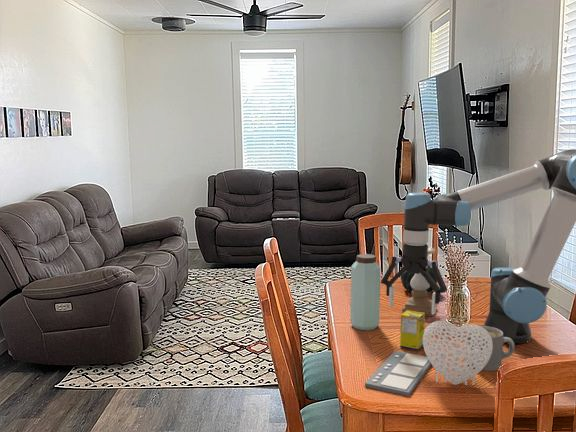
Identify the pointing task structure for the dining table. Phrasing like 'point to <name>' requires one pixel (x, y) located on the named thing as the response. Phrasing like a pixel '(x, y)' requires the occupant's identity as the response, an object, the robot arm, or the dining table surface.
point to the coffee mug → (495, 348)
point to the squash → (407, 277)
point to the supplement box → (412, 330)
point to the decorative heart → (457, 350)
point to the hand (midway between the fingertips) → (412, 309)
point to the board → (399, 373)
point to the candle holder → (419, 293)
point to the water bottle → (365, 292)
